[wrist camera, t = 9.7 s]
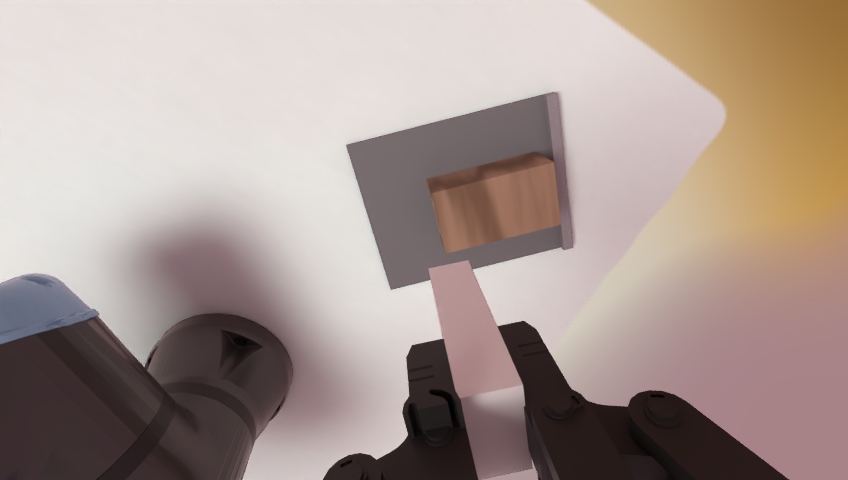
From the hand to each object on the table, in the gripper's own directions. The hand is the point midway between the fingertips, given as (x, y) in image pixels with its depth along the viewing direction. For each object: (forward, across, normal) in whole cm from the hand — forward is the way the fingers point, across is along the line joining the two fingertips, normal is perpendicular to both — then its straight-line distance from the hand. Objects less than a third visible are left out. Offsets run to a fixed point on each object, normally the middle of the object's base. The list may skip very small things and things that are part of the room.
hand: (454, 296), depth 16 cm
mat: (+27, +5, -5) cm, 28 cm away
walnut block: (+24, +1, -5) cm, 25 cm away
